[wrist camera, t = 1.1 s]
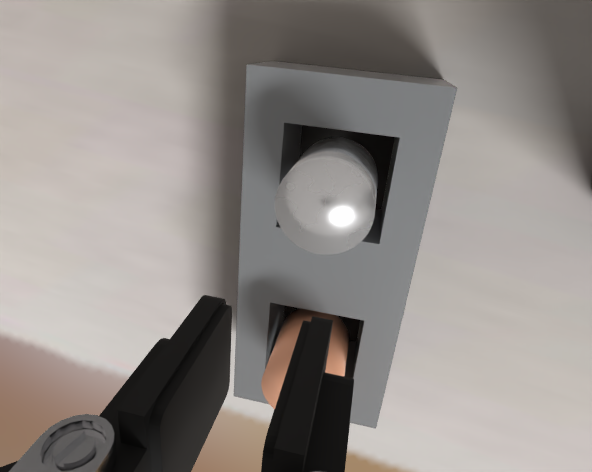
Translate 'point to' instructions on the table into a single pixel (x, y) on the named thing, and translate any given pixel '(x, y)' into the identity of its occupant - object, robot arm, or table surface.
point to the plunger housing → (360, 259)
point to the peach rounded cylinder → (286, 345)
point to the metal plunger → (328, 197)
